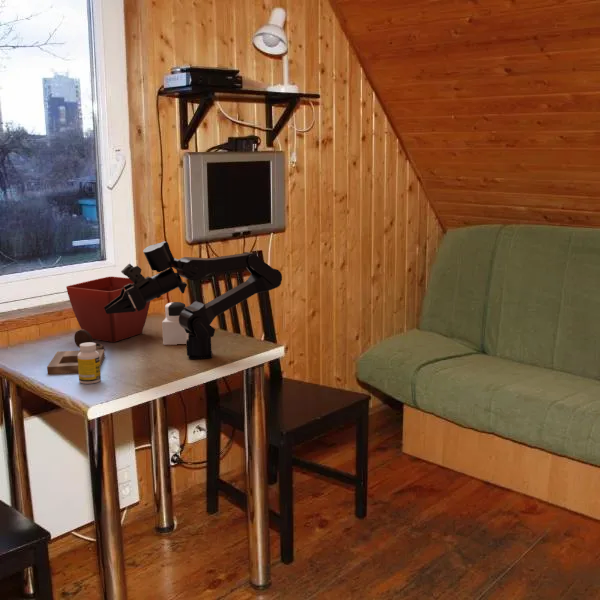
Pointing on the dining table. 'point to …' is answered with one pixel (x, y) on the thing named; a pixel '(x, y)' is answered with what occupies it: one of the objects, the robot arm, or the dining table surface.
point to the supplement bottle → (89, 364)
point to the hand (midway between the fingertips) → (105, 310)
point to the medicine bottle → (173, 325)
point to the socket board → (68, 362)
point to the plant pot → (91, 312)
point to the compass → (85, 339)
